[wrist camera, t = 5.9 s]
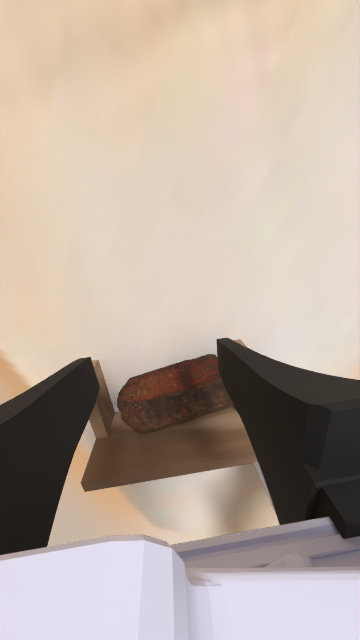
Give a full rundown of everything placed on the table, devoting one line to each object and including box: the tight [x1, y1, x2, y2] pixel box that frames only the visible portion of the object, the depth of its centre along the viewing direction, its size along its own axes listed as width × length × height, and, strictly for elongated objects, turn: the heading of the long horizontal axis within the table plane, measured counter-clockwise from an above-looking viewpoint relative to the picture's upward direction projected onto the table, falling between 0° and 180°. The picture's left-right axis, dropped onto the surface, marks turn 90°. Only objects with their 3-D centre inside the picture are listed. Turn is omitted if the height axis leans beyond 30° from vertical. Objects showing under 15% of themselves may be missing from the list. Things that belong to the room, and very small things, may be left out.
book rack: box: [81, 340, 258, 492], centre depth 18 cm, size 9×16×7 cm, turn 97°
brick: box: [117, 354, 233, 433], centre depth 19 cm, size 11×4×5 cm, turn 108°
